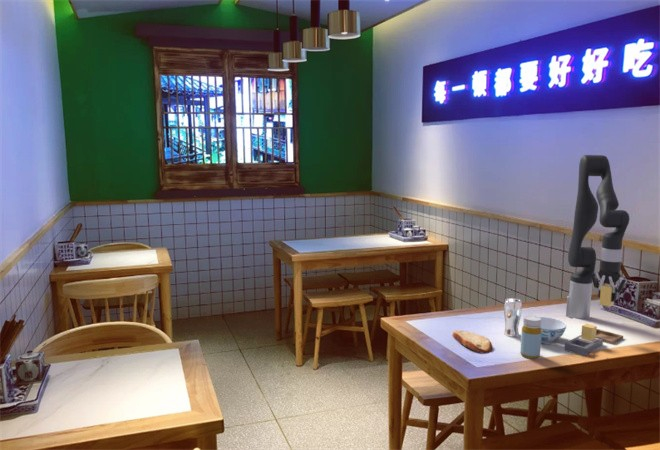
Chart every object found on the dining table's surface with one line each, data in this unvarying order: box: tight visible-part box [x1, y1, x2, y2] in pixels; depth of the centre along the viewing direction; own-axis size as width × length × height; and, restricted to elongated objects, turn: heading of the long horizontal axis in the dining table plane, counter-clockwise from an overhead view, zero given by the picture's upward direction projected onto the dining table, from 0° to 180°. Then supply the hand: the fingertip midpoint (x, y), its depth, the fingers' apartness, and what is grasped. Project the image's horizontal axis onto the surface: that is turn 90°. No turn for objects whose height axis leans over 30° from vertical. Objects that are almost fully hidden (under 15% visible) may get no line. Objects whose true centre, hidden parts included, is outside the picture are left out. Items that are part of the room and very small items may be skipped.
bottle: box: [519, 314, 542, 360], centre depth 204 cm, size 7×7×15 cm
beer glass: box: [503, 297, 523, 338], centre depth 227 cm, size 7×7×15 cm
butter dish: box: [564, 323, 604, 357], centre depth 212 cm, size 8×15×8 cm, turn 130°
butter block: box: [599, 283, 615, 308], centre depth 219 cm, size 4×4×8 cm
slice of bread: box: [451, 329, 493, 354], centre depth 218 cm, size 18×18×4 cm
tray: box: [596, 328, 624, 345], centre depth 222 cm, size 11×10×2 cm
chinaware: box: [539, 316, 567, 345], centre depth 220 cm, size 15×15×8 cm
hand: (607, 299), depth 219 cm, fingers closed on butter block, 4 cm apart
